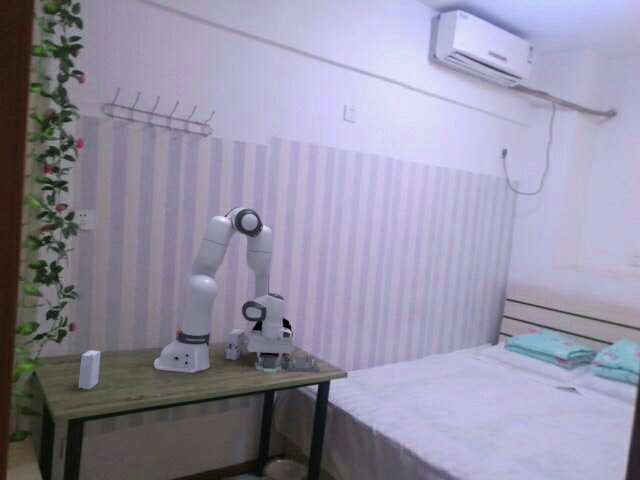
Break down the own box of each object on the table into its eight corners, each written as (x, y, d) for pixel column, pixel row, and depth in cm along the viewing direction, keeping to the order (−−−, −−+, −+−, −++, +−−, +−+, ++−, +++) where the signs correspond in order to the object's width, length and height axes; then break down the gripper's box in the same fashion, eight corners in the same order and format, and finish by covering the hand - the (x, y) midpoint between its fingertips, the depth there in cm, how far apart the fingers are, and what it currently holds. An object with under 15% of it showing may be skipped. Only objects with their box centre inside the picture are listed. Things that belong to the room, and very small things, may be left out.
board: (256, 373, 206) (258, 361, 205) (253, 362, 218) (255, 351, 218) (282, 373, 208) (284, 362, 208) (278, 363, 221) (279, 352, 220)
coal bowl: (248, 344, 243) (252, 306, 242) (288, 346, 247) (292, 309, 246) (250, 357, 224) (254, 316, 223) (293, 359, 228) (298, 319, 226)
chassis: (287, 371, 211) (289, 360, 210) (282, 359, 225) (283, 349, 225) (319, 372, 214) (320, 361, 214) (312, 360, 228) (313, 351, 228)
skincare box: (86, 382, 175) (88, 349, 174) (98, 383, 175) (101, 350, 174) (77, 388, 169) (80, 354, 168) (90, 390, 169) (93, 356, 168)
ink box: (232, 353, 226) (234, 328, 225) (242, 355, 225) (245, 330, 224) (225, 358, 218) (227, 332, 217) (235, 360, 217) (238, 334, 216)
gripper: (248, 331, 207) (245, 363, 207) (295, 334, 211) (292, 365, 212) (247, 327, 213) (244, 358, 214) (293, 330, 217) (290, 360, 218)
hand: (268, 362), depth 213 cm, fingers open, 6 cm apart
